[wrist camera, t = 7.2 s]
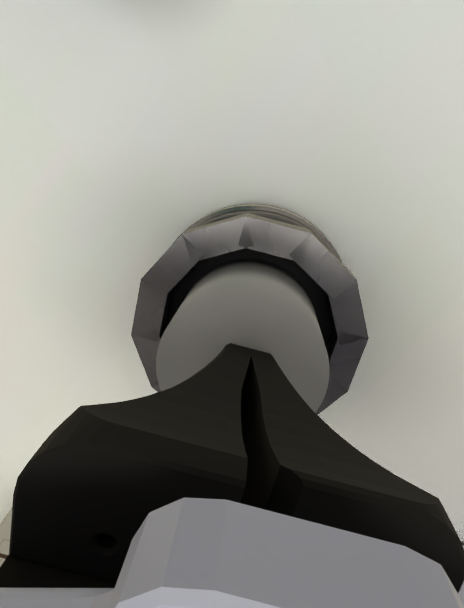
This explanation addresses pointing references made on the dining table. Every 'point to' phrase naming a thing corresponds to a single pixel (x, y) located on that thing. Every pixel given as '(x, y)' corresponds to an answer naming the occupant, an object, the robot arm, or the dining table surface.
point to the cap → (247, 326)
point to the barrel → (269, 246)
